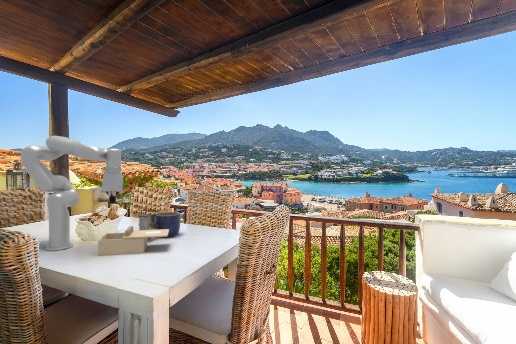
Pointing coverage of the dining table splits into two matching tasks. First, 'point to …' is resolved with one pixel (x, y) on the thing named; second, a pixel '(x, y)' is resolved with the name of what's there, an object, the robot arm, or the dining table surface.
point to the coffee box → (148, 224)
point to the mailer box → (120, 244)
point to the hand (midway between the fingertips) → (112, 203)
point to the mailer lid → (145, 233)
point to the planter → (168, 222)
